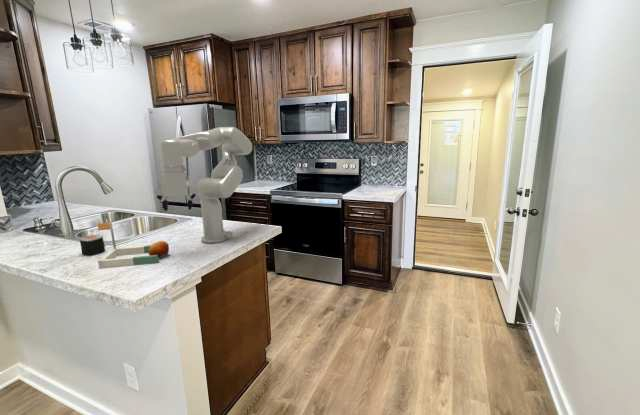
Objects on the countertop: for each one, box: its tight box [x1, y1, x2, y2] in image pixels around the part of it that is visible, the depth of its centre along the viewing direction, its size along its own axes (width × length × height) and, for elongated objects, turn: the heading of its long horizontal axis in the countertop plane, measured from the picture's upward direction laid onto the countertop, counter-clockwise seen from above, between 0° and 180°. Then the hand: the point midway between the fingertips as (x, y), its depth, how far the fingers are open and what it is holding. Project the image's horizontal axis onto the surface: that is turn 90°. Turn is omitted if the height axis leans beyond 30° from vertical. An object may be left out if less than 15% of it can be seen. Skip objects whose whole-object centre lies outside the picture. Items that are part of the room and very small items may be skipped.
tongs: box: [97, 222, 159, 269], centre depth 128 cm, size 26×15×15 cm, turn 103°
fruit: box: [148, 240, 170, 259], centre depth 132 cm, size 8×8×8 cm
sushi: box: [79, 234, 106, 257], centre depth 137 cm, size 8×8×8 cm
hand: (178, 209), depth 130 cm, fingers open, 9 cm apart
